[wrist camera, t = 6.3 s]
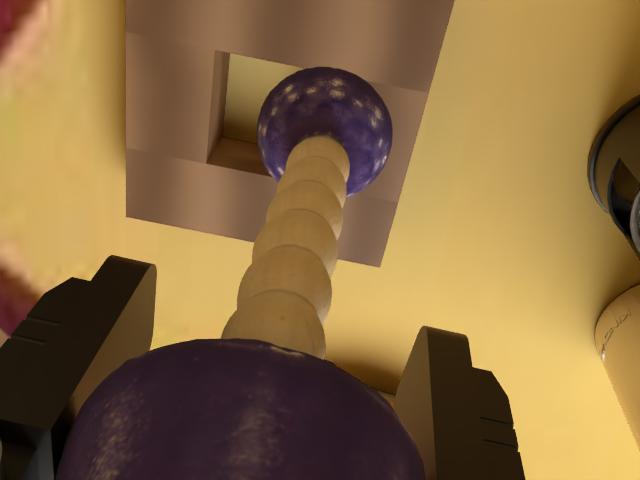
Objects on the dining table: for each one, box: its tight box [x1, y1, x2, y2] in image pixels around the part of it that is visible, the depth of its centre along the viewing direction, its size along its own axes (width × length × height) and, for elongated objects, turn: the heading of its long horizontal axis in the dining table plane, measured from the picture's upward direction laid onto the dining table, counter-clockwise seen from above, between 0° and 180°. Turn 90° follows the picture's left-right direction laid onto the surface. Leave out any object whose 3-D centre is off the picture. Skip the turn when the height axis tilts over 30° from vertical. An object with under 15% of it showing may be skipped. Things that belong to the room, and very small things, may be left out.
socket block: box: [126, 0, 454, 267], centre depth 35 cm, size 16×16×4 cm
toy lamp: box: [55, 67, 426, 480], centre depth 12 cm, size 5×5×17 cm
